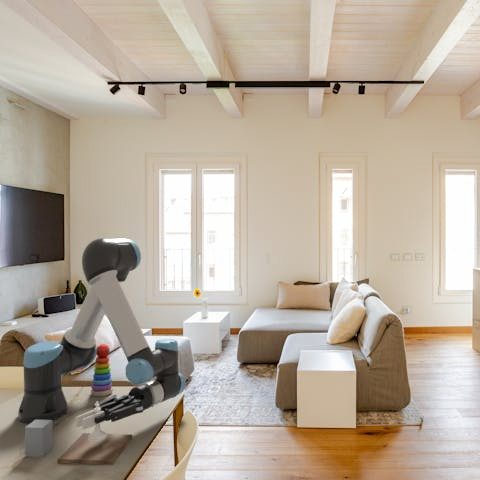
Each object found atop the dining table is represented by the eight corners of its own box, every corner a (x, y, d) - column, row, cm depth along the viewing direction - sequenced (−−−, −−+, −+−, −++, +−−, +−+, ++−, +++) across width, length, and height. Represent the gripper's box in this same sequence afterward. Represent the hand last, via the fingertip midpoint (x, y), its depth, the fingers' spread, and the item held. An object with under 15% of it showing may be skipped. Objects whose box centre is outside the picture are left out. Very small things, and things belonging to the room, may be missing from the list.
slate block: (25, 456, 114) (24, 427, 114) (35, 447, 119) (35, 419, 119) (42, 457, 114) (42, 427, 114) (52, 448, 119) (52, 420, 119)
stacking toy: (106, 397, 157) (105, 347, 157) (86, 396, 159) (86, 346, 159) (116, 390, 165) (116, 342, 165) (97, 389, 166) (97, 341, 166)
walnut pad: (57, 462, 111) (57, 459, 111) (83, 436, 126) (83, 433, 126) (112, 464, 110) (112, 460, 110) (132, 437, 125) (132, 434, 125)
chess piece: (100, 431, 121) (100, 397, 121) (110, 436, 118) (109, 401, 118) (84, 438, 118) (84, 402, 118) (94, 443, 114) (94, 406, 114)
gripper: (163, 413, 128) (97, 444, 109) (129, 403, 137) (63, 430, 118) (162, 388, 128) (97, 415, 109) (129, 379, 137) (63, 403, 118)
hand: (79, 423), depth 113 cm, fingers closed on chess piece, 2 cm apart
